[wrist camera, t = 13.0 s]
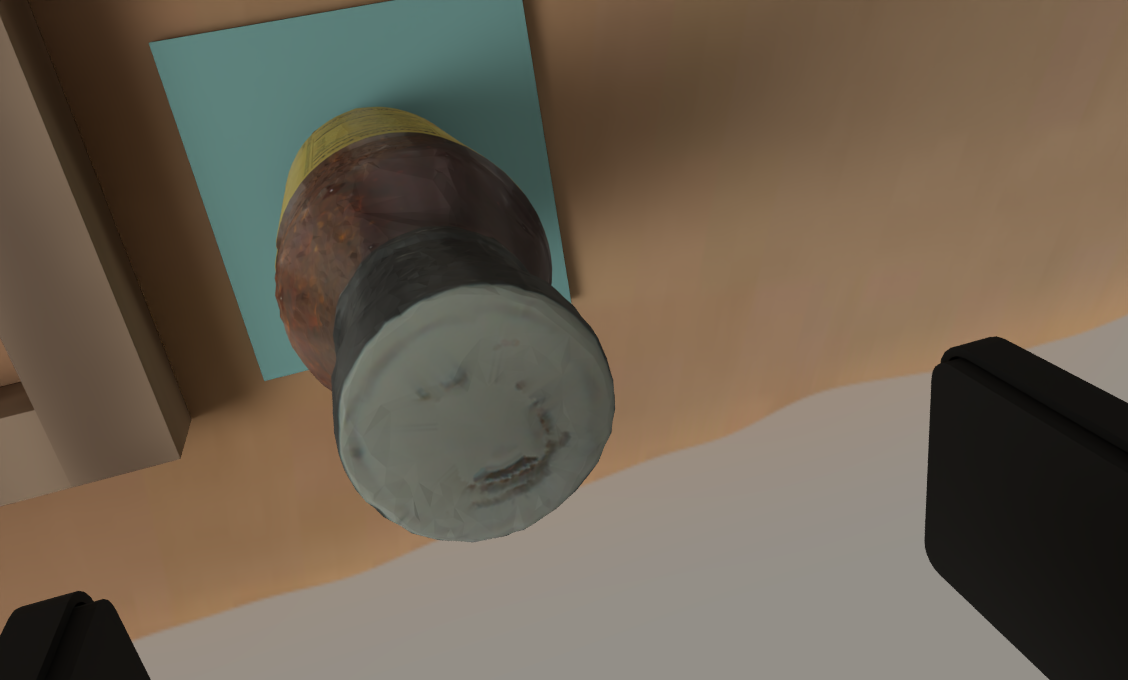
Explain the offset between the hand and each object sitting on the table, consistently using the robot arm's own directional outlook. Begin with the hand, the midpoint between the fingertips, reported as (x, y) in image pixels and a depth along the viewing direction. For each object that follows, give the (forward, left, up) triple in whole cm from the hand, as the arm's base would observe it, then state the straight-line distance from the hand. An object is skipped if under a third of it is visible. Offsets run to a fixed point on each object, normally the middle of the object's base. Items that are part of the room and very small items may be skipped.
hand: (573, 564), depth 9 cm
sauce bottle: (+1, 0, -23) cm, 23 cm away
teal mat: (0, 0, -23) cm, 23 cm away
